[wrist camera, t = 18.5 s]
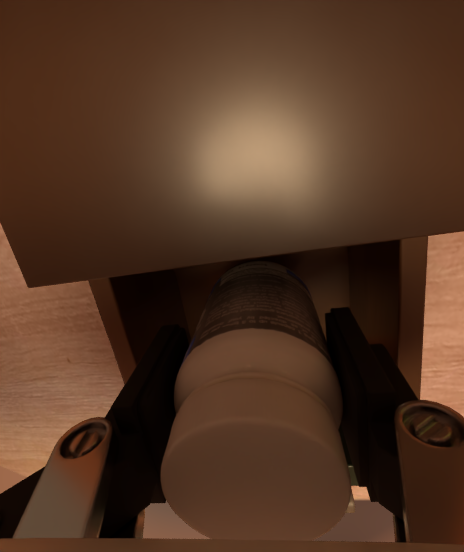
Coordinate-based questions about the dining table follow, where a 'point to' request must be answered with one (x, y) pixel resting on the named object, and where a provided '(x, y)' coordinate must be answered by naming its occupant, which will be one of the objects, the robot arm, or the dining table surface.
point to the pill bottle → (257, 415)
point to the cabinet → (224, 130)
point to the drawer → (320, 282)
